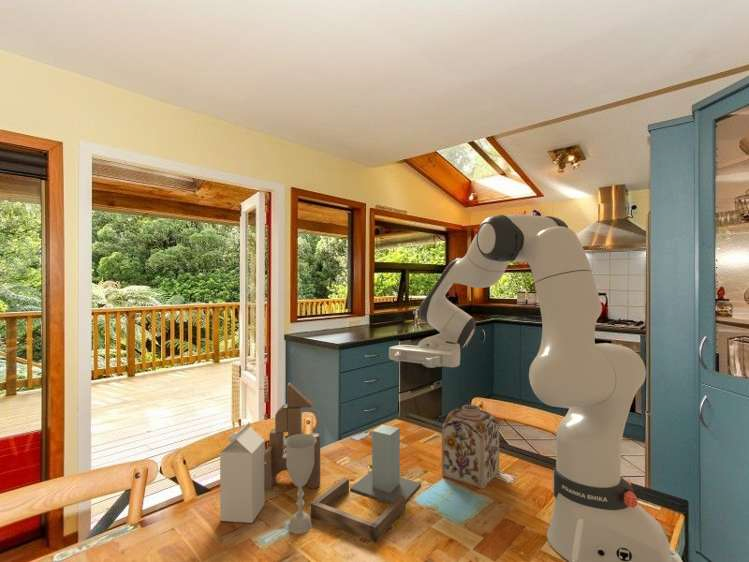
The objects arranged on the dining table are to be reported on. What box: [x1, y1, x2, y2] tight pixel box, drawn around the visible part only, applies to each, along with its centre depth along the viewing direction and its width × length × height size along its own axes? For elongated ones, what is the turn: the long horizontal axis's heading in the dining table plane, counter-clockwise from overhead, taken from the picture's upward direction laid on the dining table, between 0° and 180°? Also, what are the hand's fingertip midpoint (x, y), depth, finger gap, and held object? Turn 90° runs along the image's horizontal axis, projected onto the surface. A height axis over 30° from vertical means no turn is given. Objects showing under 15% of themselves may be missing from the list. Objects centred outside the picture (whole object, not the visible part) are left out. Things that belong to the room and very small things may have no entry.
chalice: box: [284, 433, 317, 535], centre depth 84 cm, size 7×7×18 cm
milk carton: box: [219, 421, 265, 524], centre depth 88 cm, size 7×7×19 cm
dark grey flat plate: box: [349, 470, 422, 505], centre depth 99 cm, size 14×11×1 cm
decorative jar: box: [441, 404, 500, 490], centre depth 106 cm, size 12×12×18 cm
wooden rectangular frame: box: [310, 477, 406, 544], centre depth 88 cm, size 16×13×3 cm
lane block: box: [371, 424, 401, 493], centre depth 99 cm, size 5×5×14 cm
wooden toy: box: [264, 382, 321, 491], centre depth 101 cm, size 16×7×25 cm, turn 94°
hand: (411, 360), depth 107 cm, fingers open, 8 cm apart
